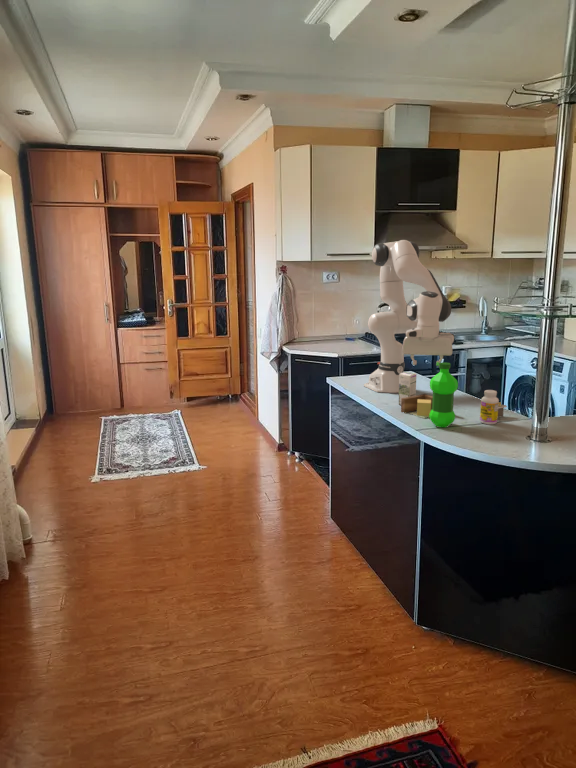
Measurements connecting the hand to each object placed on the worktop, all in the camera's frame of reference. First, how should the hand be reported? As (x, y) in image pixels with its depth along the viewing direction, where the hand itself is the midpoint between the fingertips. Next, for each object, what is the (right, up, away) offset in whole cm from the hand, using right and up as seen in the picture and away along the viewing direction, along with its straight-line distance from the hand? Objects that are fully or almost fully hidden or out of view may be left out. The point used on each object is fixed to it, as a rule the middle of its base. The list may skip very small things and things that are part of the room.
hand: (426, 365), depth 232 cm
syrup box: (-4, -17, +20) cm, 27 cm away
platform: (+28, -22, 0) cm, 35 cm away
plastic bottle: (+3, -24, -10) cm, 27 cm away
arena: (+1, -20, +6) cm, 21 cm away
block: (0, -20, +4) cm, 21 cm away
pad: (0, -21, +4) cm, 21 cm away
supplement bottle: (+23, -23, -7) cm, 34 cm away
